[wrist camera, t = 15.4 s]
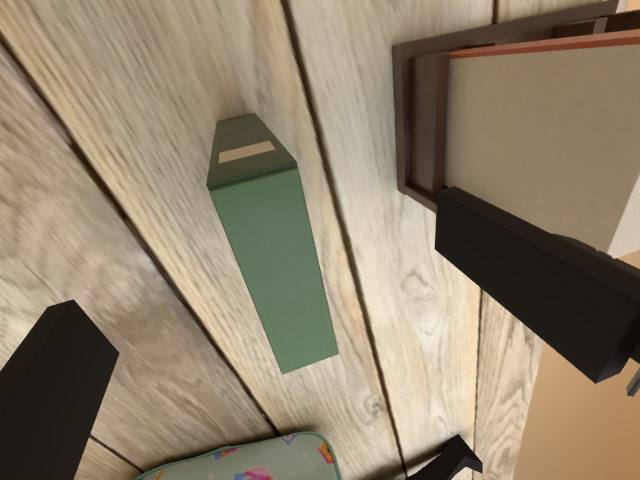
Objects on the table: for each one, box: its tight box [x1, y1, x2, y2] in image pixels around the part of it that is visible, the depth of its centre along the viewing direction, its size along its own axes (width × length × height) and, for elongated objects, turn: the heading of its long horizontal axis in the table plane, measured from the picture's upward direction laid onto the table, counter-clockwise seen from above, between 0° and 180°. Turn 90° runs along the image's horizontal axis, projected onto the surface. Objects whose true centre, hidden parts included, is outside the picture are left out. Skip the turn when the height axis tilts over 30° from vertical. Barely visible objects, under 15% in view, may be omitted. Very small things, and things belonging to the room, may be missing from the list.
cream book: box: [443, 29, 640, 259], centre depth 17 cm, size 9×3×14 cm, turn 10°
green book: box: [207, 113, 339, 374], centre depth 16 cm, size 9×3×14 cm, turn 10°
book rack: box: [392, 0, 640, 213], centre depth 21 cm, size 11×18×9 cm, turn 100°
